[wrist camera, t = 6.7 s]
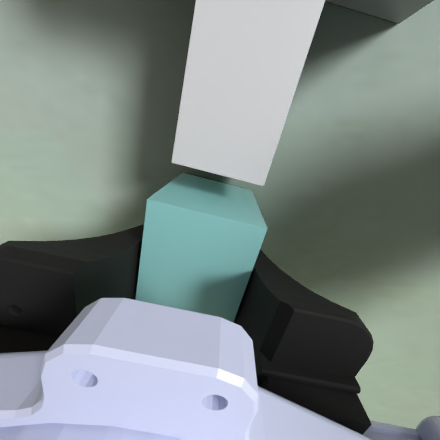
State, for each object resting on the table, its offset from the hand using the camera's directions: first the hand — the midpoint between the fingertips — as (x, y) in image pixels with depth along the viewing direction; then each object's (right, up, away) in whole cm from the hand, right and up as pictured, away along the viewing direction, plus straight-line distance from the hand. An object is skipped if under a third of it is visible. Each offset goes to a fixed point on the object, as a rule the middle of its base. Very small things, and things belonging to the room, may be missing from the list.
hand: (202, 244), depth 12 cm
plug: (+1, +5, -1) cm, 5 cm away
